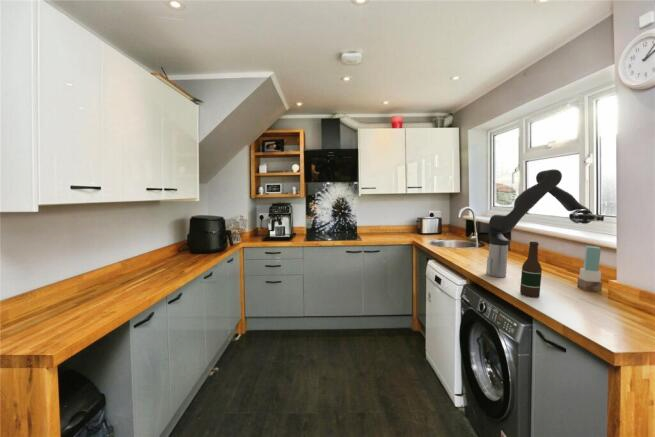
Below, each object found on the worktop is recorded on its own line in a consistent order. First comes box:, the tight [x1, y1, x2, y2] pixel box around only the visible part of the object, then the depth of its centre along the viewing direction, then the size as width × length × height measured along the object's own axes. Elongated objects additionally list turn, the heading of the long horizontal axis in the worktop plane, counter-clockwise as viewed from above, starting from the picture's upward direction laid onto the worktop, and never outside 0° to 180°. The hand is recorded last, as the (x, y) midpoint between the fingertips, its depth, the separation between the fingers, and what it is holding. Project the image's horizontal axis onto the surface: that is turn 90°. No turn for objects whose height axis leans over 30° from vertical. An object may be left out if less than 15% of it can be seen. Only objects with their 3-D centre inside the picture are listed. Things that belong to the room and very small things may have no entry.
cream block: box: [578, 267, 602, 282], centre depth 164 cm, size 6×6×5 cm
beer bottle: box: [519, 241, 542, 299], centre depth 151 cm, size 8×8×24 cm
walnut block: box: [576, 277, 603, 293], centre depth 164 cm, size 7×7×5 cm
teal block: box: [583, 245, 602, 272], centre depth 163 cm, size 5×5×11 cm
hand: (587, 218), depth 172 cm, fingers open, 8 cm apart
